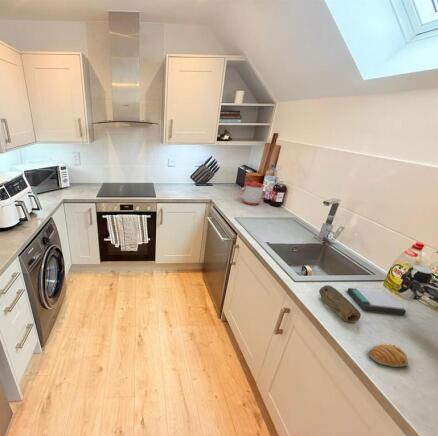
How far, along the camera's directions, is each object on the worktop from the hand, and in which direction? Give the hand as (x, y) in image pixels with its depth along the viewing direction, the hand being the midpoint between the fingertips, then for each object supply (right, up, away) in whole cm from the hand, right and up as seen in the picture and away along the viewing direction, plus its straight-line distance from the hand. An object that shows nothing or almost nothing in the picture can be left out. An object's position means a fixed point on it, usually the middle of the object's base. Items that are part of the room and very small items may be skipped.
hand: (407, 275), depth 86 cm
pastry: (-18, -24, -11) cm, 32 cm away
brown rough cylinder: (-19, -16, +8) cm, 26 cm away
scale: (-1, -14, +12) cm, 18 cm away
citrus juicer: (-4, +34, +123) cm, 127 cm away
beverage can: (0, -8, 0) cm, 8 cm away
